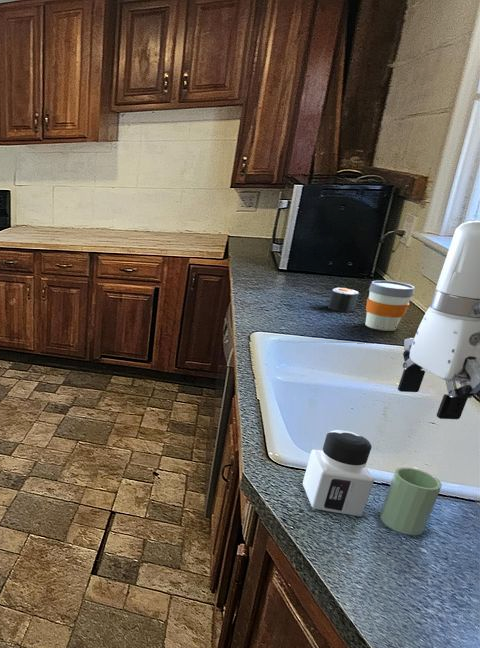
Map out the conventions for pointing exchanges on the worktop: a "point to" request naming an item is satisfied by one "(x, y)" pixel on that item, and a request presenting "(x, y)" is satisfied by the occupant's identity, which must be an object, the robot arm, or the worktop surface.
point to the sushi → (343, 299)
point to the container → (339, 474)
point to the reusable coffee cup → (387, 304)
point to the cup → (410, 501)
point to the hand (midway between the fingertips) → (426, 404)
